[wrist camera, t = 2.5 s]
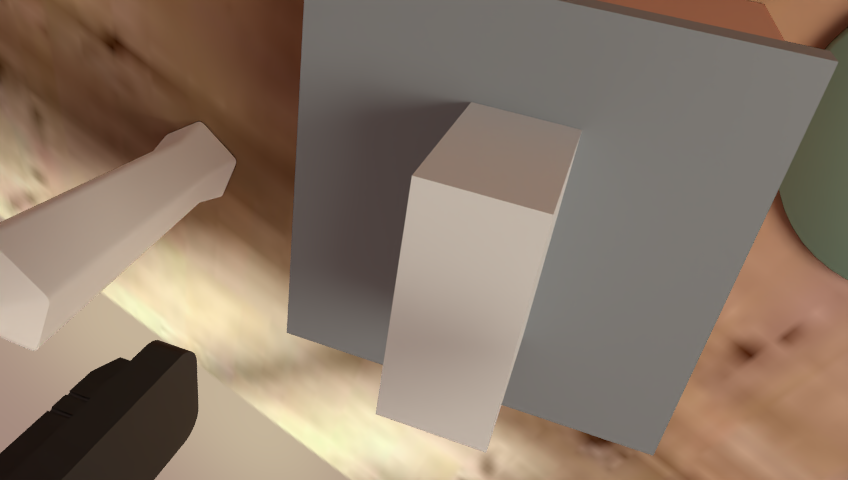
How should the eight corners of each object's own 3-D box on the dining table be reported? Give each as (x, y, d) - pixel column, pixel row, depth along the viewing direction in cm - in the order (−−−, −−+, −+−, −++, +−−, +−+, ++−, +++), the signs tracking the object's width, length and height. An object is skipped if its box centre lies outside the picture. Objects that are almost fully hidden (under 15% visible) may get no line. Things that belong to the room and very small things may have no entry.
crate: (764, 4, 23) (798, 66, 17) (644, 306, 30) (635, 436, 23) (426, -67, 26) (338, -36, 19) (386, 230, 32) (311, 329, 26)
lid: (822, 40, 17) (897, 140, 11) (654, 413, 24) (647, 594, 18) (338, -63, 20) (194, -25, 14) (311, 302, 26) (208, 430, 21)
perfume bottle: (171, 94, 32) (-145, 247, 20) (250, 147, 32) (-17, 332, 20) (147, 167, 35) (-147, 343, 22) (220, 216, 35) (-33, 419, 23)
